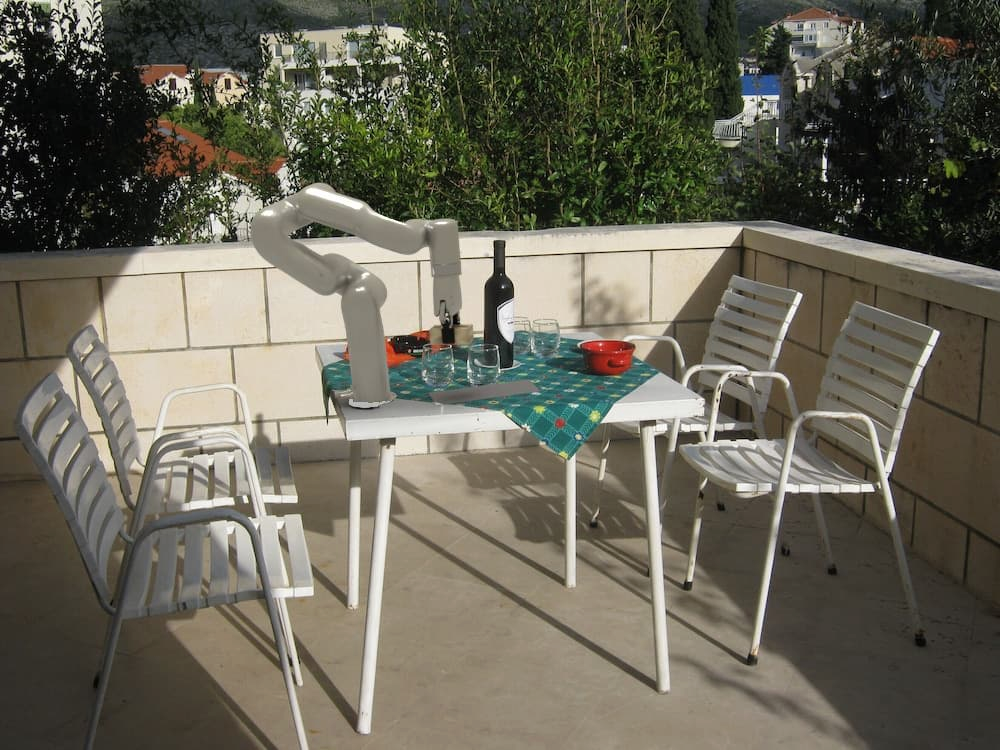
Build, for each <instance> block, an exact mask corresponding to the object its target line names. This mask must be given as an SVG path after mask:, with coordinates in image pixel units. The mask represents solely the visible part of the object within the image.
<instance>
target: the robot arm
mask: <svg viewBox="0 0 1000 750" xmlns="http://www.w3.org/2000/svg"><path fill="white" fill-rule="evenodd" d="M314 222H315V223H318V224H320V225H324V226H326V227H330V228H331V229H332V228H333V229H336V230H339V231H342V232H345V233H347V234H351V235H354V236H355V237H356V238H359V239H360V240H362V241H366V242H368V243H369V244H371V245H373V246H375V247H378V248H381V249H384V250H387V251H391V252H394V253H397V254H400V255H405V256H410V255H415V254H417V253H418V252H419V251H421V250H422V249H424V248H428V249H429V250H428V251H429V260H430V263H429V264H430V272H431V273H430V275H431V277H432V278H433V279H432V281H433V282H432V299H433V301H432V303H433V315H434V316H435V317H436V318H438V319H439V320H438V321H439V323H440V325H441V332H442V343H443V344H454V343H455V333H454V328H452V327H453V325H459V324H461V316H460V314H461V313H460V311H461V310H462V308H463V296H462V295H463V294H462V288H461V280H460V276H462V273H463V272H462V263H461V262H462V261H461V249H460V247H461V246H460V236H459V234H460V233H459V226H458V222H457V221H456V220H455V219H452V218H439V219H421V218H418V219H417V218H414V219H413V218H412V219H408V220H406V221H405V222H403V221H398V220H395V219H392V218H389V217H387V216H384V215H382V214H380V213H378V212H376V211H375V210H373V209H372V207H370V205H369V204H368V203H367V202H365V201H364V200H360V199H358V198H354V197H351V196H348V195H345V194H342V193H339V192H336V190H335V189H334V188H333V187H332V186H331V185H330V184H327V183H325V182H314V183H312V184H309V185H307V186H305V187H303V188H302V189H301V190H300V191H298V192H296V193H294V194H292V195H290V196H288V197H285V198H283V199H281V200H279V201H276V202H274V203H272V204H269V205H267V206H265V207H262V208H260V210H257V212H256V213H255V214H254V216H253V218H252V220H251V223H250V238H251V242H252V245H253V247H254V249H255V251H256V252H257V253H258V255H259V256H261V258H262V259H263V260H264V261H265V262H267V263H268V264H270V265H272V266H273V267H275V268H277V269H278V270H279V271H281V272H283V273H284V274H286V275H287V276H290V277H291V278H292V279H294V280H295V281H297V282H299V283H300V284H301V285H303V286H305V287H307V288H309V290H311V291H312V292H314V293H315V294H318V295H321V296H324V297H325V296H326V297H328V296H332V295H334V294H338V295H339V296H341V298H340V299H341V300H340V309H341V314H342V318H343V322H344V328H345V335H346V343H347V350H348V351H347V352H348V359H349V368H350V369H349V370H350V378H351V384H350V385H349V387H347V388H346V389H344V390H342V389H341V390H334V396H335V399H340V400H346V399H349V398H350V399H353V402H368V403H373V402H379V403H380V402H382V401H386V402H387V401H391V400H394V399H395V400H397V398H398V395H397V393H396V392H394V391H391V386H390V376H389V375H390V374H389V368H388V357H387V350H386V347H387V346H386V339H385V331H384V326H383V325H384V324H383V319H382V316H381V315H382V314H381V308H382V307H383V305H384V304H386V301H387V297H388V289H387V287H386V284H385V283H384V281H383V280H382V279H381V278H380V277H379V276H377V275H376V274H374V273H373V272H371V271H369V270H367V269H366V268H364V267H362V266H361V265H359V264H358V263H356V262H355V261H353V260H352V259H349V258H348V257H346V256H344V255H342V254H339V253H332V252H331V253H326V254H323V255H322V254H319V253H317V252H316V251H314V250H312V249H310V248H309V247H308V246H307V245H304V244H302V243H300V242H299V241H296V240H295V239H292V238H291V237H289V236H288V235H290V234H291V233H293V232H296V231H298V230H299V229H302V228H304V227H306V226H308V225H310V224H312V223H314ZM396 397H397V398H396ZM395 400H394V401H395Z"/></svg>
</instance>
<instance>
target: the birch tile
mask: <svg viewBox="0 0 1000 750" xmlns="http://www.w3.org/2000/svg"><path fill="white" fill-rule="evenodd" d="M452 328H454V333H455V343H454V344H443V343H442V332H441V324H434V325H433V326H432V327H430V328H429V330H428V331H429V341H430V346H454V345H455V346H457V345H459V346H460V345H463V346H465V345H466V346H467V345H471V343H472V342H474V340H475V338H474V337H475V335H474V324H472V323H468V324H464V323H463V324H462V323H460V324H459V325H453V327H452Z"/></svg>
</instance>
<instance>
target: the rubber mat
mask: <svg viewBox="0 0 1000 750" xmlns="http://www.w3.org/2000/svg"><path fill="white" fill-rule="evenodd" d="M531 393H532V394H533V393H539V394H542V393H541V390H540V389H539V388H538V387H537V386H536V385H535V384H534V383H533V382H532V381H531V380H530V379H529V378H528V379H520V380H513V381H506V382H499V383H491V384H485V385H483V384H482V385H478V386H477V385H476V386H469V387H468V386H467V387H460V388H454V389H448V390H447V389H446V390H438V391H431V392H428V394H429V396H430V398H431V399H432V401H433V403H434V402H435V401H436V402H438V403H440V404H441V403H442V404H444V405H451V404H459V403H464V402H472V401H479V400H486V399H494V398H502V397H510V396H514V395H515V396H516V395H523V394H531Z"/></svg>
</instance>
